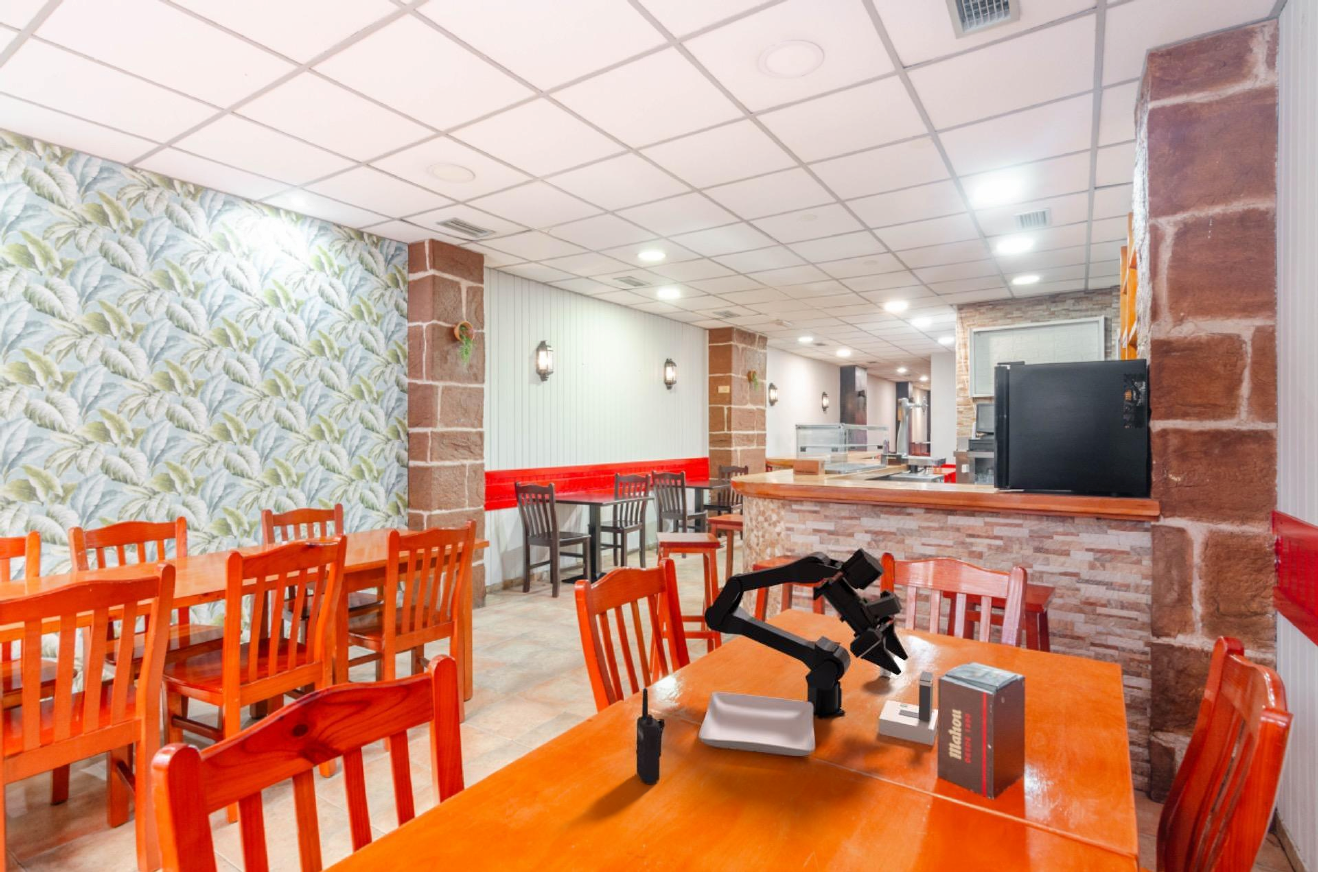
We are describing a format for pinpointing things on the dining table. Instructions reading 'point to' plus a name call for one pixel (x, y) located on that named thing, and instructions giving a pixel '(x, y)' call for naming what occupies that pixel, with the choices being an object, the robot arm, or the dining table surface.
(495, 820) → the dining table surface
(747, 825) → the dining table surface
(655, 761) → the two-way radio
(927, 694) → the breaker toggle
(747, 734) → the salad plate
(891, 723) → the block
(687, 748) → the dining table surface
